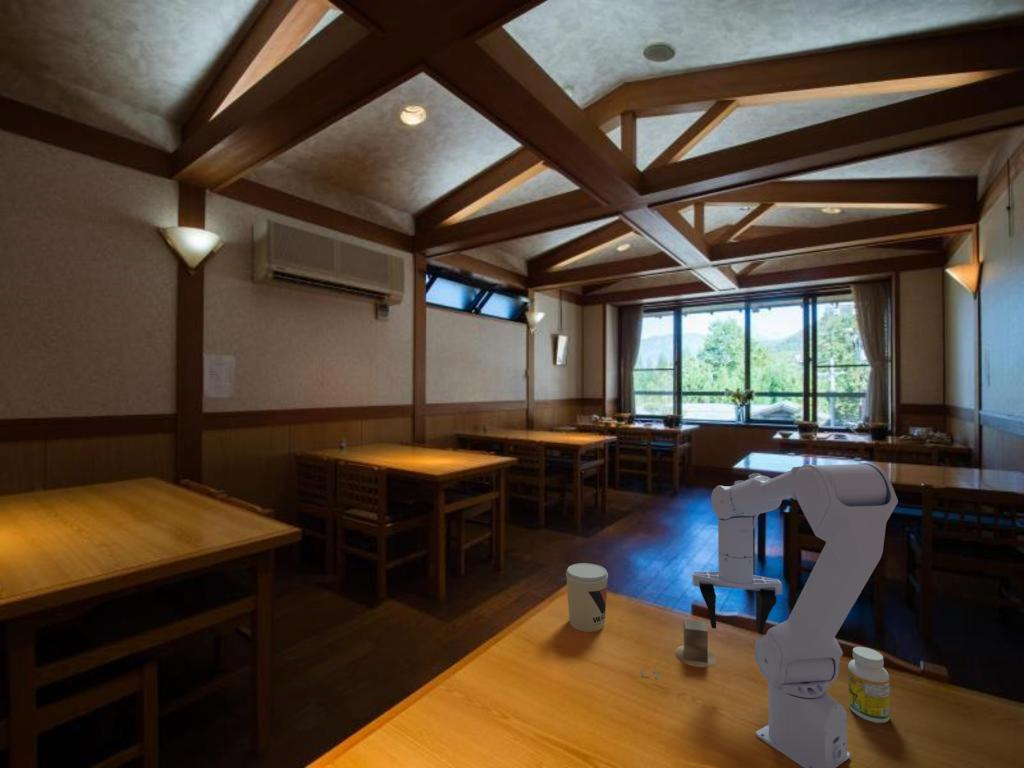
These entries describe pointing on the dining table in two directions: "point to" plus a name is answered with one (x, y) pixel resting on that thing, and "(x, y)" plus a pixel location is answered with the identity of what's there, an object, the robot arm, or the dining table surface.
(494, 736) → the dining table surface
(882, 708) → the supplement bottle
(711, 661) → the cork coaster
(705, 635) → the walnut block
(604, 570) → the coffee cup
